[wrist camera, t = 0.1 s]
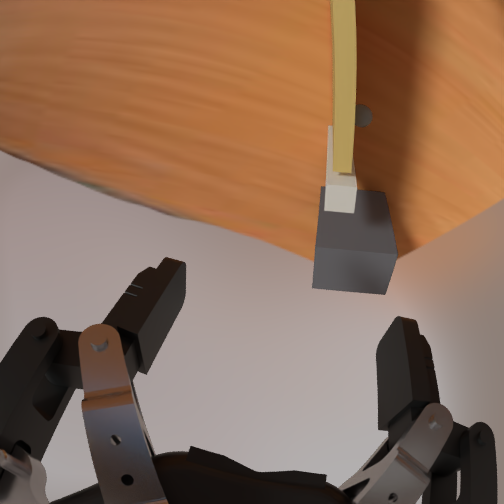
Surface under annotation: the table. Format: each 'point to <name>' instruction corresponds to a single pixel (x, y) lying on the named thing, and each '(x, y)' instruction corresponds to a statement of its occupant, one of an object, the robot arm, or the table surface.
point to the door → (345, 85)
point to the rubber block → (355, 246)
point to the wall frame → (339, 184)
